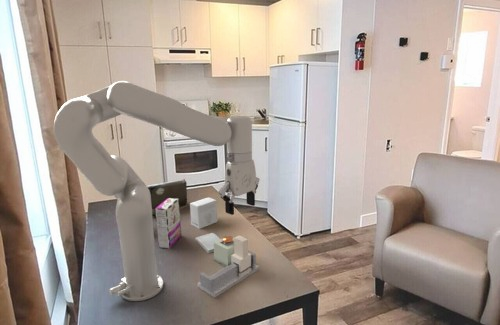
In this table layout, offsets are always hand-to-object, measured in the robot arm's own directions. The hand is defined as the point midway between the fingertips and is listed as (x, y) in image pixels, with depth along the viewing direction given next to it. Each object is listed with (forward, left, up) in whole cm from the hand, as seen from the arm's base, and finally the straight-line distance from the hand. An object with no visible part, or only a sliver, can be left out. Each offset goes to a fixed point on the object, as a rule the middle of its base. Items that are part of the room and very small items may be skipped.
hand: (240, 208), depth 104 cm
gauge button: (+1, +8, -21) cm, 22 cm away
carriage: (0, 0, -21) cm, 21 cm away
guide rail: (-6, 0, -22) cm, 23 cm away
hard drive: (+5, +22, -23) cm, 32 cm away
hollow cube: (+1, +8, -22) cm, 24 cm away
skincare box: (+15, +38, -23) cm, 47 cm away
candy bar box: (-5, +35, -22) cm, 42 cm away
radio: (+13, +64, -23) cm, 69 cm away
